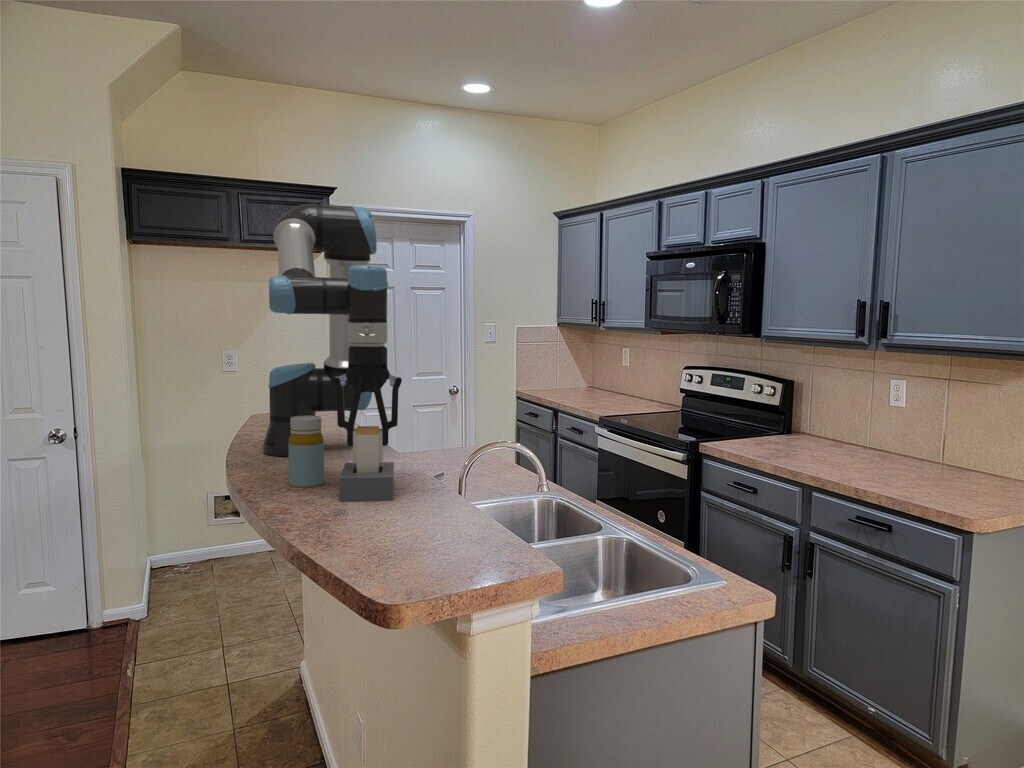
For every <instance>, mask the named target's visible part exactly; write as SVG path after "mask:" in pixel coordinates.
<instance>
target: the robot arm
mask: <svg viewBox="0 0 1024 768" xmlns="http://www.w3.org/2000/svg"><path fill="white" fill-rule="evenodd" d="M272 236H273V242H274V245H275V246H276V248H277V251H278V252H277V255H278V257H277V258H278V259H277V260H278V275H272V276H270V278H269V279H268V304H269V309H270V311H271V312H273V313H276V314H286V315H298V314H300V315H329V354H328V355H329V356H328V357H327V358H326V359H325V360H324V361H323V367H320V368H319V367H318V368H316V364H315V363H314V362H308V363H306V362H305V363H303V362H302V363H294V364H287V365H282V366H277V367H274V368H272V369H271V370H270V372H269V374H268V375H269V379H268V387H267V388H269V424H268V428H267V431H266V434H265V437H264V440H263V443H262V453H263V454H265V455H267V456H268V455H269V456H276V457H289V444H288V443H289V438H290V435H291V427H290V419H291V417H295V416H316V413H318V412H336V417H337V419H336V420H337V426H338V427H339V428H341V429H345V430H346V433H347V434H346V444H347V447H352V463H357V428H355V423H356V419H357V414H358V411H363V410H366V409H367V408H368V407H369V405H370V403H371V400H372V397H373V394H374V398H375V402H376V403H375V404H376V406H377V411H378V416H379V419H380V420H379V421H380V424H381V428H379V463H382V462H384V459H383V458H384V457H383V455H384V452H383V451H384V449H383V448H384V447H383V446H388V445H389V431H390V429H392V428H395V427H397V426H398V423H399V422H398V419H399V417H398V415H399V389H400V387H401V384H402V382H403V381H402V380H403V378H402V377H401V376H396V375H394V374H391V373H390V371H389V369H388V348H387V346H385V344H387V343H388V288H389V283H388V271H387V270H386V268H385V267H384V266H380V265H379V266H378V265H368V264H369V263H370V262H371V255H372V256H373V255H375V254H376V253H377V245H378V243H377V232H376V225H375V220H374V216H373V214H372V212H371V211H370V210H369V209H368V208H366V207H365V208H364V207H360V206H359V207H358V206H354V205H352V206H350V205H333V204H319V203H318V204H316V203H305V204H300V205H298V206H297V205H296V206H295V207H293V208H290V209H288V210H287V211H285V212H284V213H283V214H282V215H281V216H280V217H279V218H278V220H277V221H276V223H275V225H274V229H273V235H272ZM313 252H322V253H323V259H324V261H325V262H326V263H327V264H328V265H329V277H317V276H316V271H315V259H314V253H313ZM388 380H389V386H391V387H392V391H391V417H390V418H391V419H390V420H389V421H388V417H387V416H388V415H387V413H386V408H385V404H384V398H383V394H382V388H383V386H384V385H385V383H386V382H387V381H388ZM345 411H346V412H350V413H349V417H348V421H346V416H345V413H346V412H345Z"/></svg>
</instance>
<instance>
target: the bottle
mask: <svg viewBox="0 0 1024 768" xmlns="http://www.w3.org/2000/svg"><path fill="white" fill-rule="evenodd" d="M290 427H291V435H290V438H289V443H288V444H289V456H288V485H289V487H292V488H296V489H309V488H310V489H311V488H317V487H320V486H323V485H324V484H325V449H324V448H325V447H324V446H325V442H324V440H325V439H324V437H323V434H322V417H321V416H318V415H315V416H295V417H291V419H290Z"/></svg>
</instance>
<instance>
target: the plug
mask: <svg viewBox="0 0 1024 768" xmlns="http://www.w3.org/2000/svg"><path fill="white" fill-rule="evenodd" d="M356 429H357V473H379V429H380V426H379V425H370V426H369V425H366V426H365V425H363V426H362V425H359V426H358V425H357V428H356Z"/></svg>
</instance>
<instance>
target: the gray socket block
mask: <svg viewBox="0 0 1024 768" xmlns="http://www.w3.org/2000/svg"><path fill="white" fill-rule="evenodd" d="M394 464H395V463H394V462H393V461H390V462H389V461H386V462H384V461H383V462H382V463H379V473H357V463H353V462H345V463H344V465H343V469H342V471H341V473H340V475H339V478H338V479H339V480H338V481H339V482H338V488H339V489H338V490H339V491H338V493H339V496H338V497H339V501H338V503H350V502H351V503H352V502H354V503H355V502H356V503H357V502H388V501H389V502H390V501H392V502H393V501H394V488H395V487H394V486H395V485H394V484H395V480H394V479H395V478H394V477H395V475H394V474H395V468H394V467H395V465H394Z"/></svg>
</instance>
